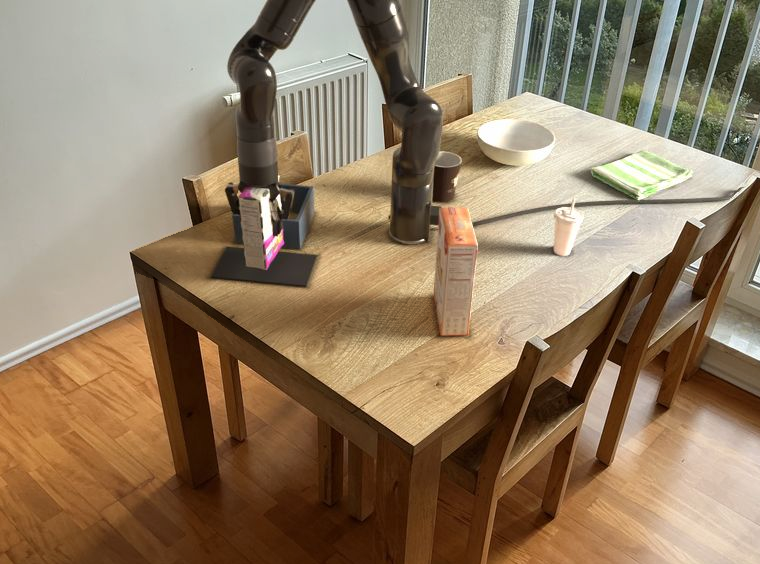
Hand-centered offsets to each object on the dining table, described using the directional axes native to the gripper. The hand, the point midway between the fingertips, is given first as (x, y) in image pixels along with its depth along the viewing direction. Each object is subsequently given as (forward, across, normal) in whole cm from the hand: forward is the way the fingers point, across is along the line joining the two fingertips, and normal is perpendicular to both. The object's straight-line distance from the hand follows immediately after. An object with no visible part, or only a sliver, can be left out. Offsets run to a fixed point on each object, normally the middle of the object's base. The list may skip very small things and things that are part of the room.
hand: (263, 232), depth 166 cm
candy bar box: (+6, 0, 0) cm, 6 cm away
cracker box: (+9, +40, -11) cm, 42 cm away
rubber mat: (+8, 0, 0) cm, 8 cm away
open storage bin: (+8, -2, +16) cm, 19 cm away
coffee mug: (+8, +36, +40) cm, 54 cm away
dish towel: (+8, +87, +60) cm, 106 cm away
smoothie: (+8, +64, +18) cm, 67 cm away
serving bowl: (+8, +53, +65) cm, 84 cm away
